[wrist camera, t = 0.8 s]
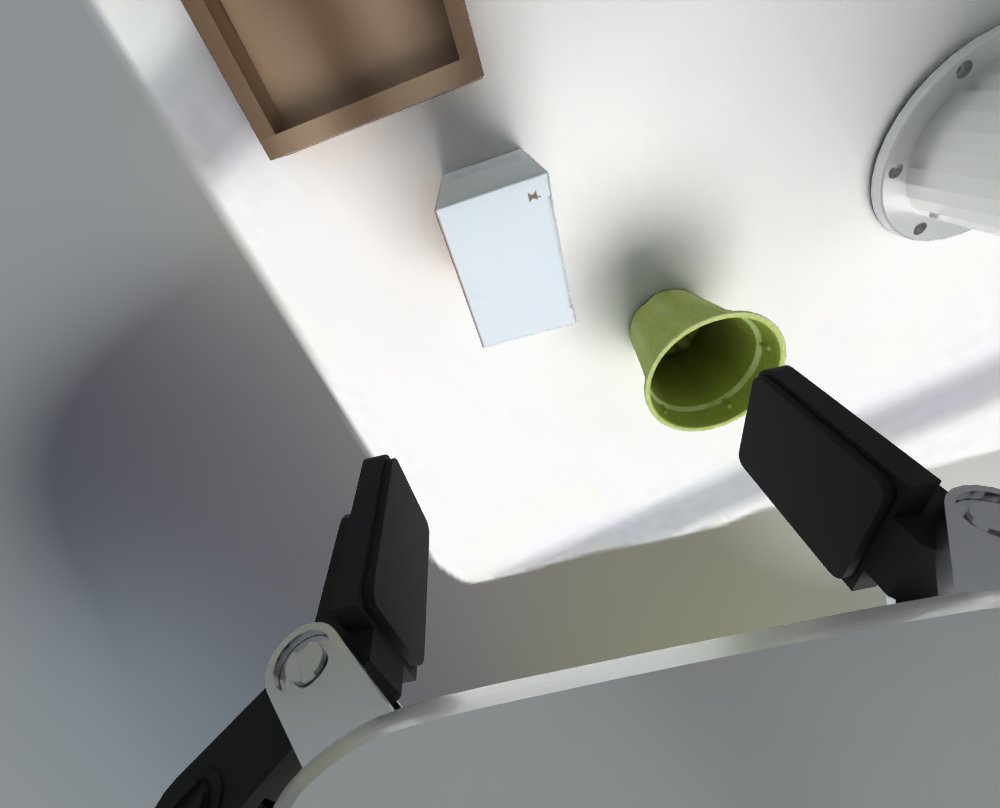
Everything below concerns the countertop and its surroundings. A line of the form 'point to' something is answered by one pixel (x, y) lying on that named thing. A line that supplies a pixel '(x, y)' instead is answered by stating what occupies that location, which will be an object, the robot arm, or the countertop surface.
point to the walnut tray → (334, 61)
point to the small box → (505, 247)
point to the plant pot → (701, 358)
